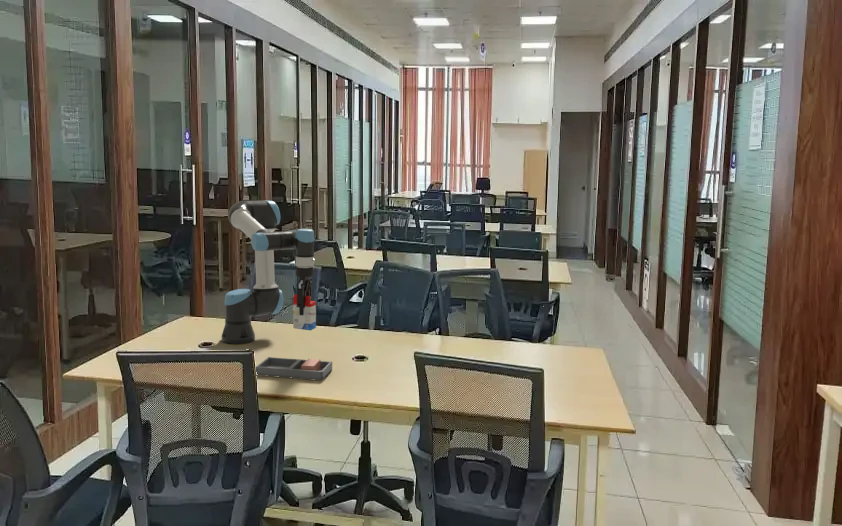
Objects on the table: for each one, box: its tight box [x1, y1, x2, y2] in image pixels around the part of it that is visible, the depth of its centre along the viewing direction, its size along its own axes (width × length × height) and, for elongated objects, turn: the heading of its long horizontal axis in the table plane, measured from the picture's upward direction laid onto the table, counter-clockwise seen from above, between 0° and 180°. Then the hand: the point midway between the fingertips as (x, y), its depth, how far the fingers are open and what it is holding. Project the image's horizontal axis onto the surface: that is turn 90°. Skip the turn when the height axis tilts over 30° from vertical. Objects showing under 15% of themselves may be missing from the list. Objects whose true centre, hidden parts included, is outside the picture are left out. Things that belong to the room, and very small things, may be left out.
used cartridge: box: [301, 358, 321, 371], centre depth 273 cm, size 5×9×4 cm, turn 172°
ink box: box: [292, 294, 317, 331], centre depth 287 cm, size 8×5×15 cm, turn 71°
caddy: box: [255, 356, 333, 381], centre depth 274 cm, size 27×14×4 cm, turn 82°
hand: (304, 320), depth 287 cm, fingers closed on ink box, 5 cm apart
